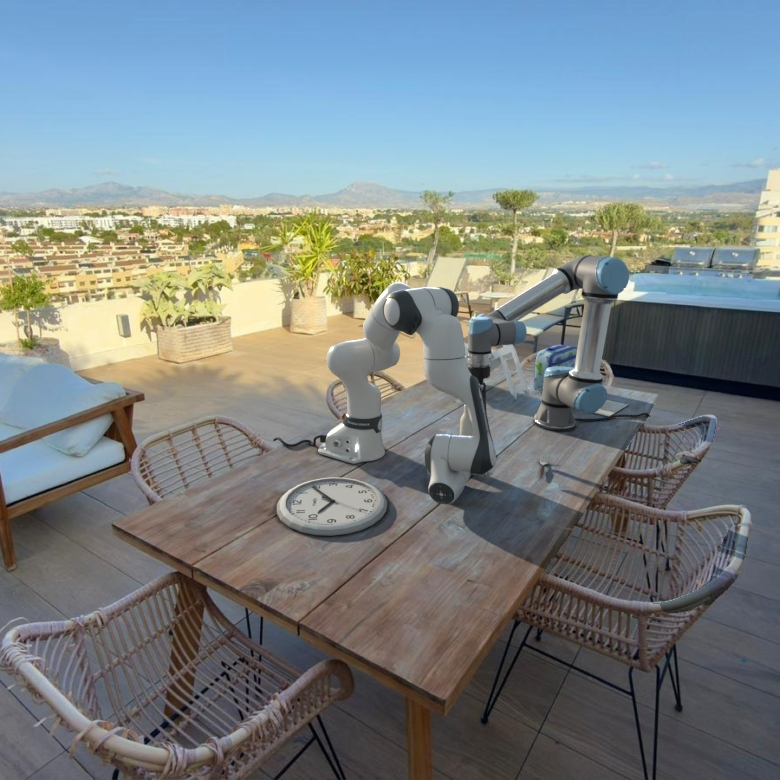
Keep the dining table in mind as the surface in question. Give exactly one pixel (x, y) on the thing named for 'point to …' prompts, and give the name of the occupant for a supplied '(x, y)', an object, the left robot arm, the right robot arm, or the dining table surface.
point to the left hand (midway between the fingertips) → (466, 451)
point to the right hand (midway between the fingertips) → (476, 425)
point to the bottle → (465, 423)
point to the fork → (543, 464)
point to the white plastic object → (505, 365)
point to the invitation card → (610, 408)
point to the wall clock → (331, 506)
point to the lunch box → (552, 361)
